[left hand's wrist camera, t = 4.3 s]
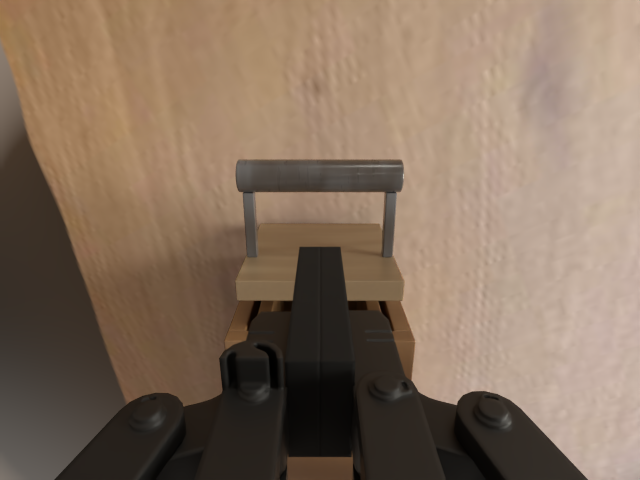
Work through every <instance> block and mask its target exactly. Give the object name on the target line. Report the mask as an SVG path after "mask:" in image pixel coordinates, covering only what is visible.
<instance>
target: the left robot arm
mask: <svg viewBox="0 0 640 480" xmlns="http://www.w3.org/2000/svg"><path fill="white" fill-rule="evenodd" d="M219 360H220V369H221V379H222V388H223V391H222V394H220V395H219V396H217V397H215V398H213V399H211V400H208V401H205V402H201V403H197V404H193V405H189V406H185V407H183V403H182V402H181V401H180V400H179V399H178V397H176V396H174V395H171V394H169V393H153V394H149V395H145V396H142V397H140V398H137V399H135V400H133V401H131V402H130V403H128V404H127V405H126V406H125V407H123V408H122V409H121V410H120V411H119V412H118V413H117V414H116V415H115V416H114V417H113V418H112V419H111V420H110V421H109V422H108V424H107V425H106V426H105V427H104V428H103V429H102V430H101V431H100V432H99V433H98V434H97V435H96V436H95V437H94V438H93V439H92V440H91V442H90V443H89V444H88V445H87V446H86V447H85V448H84V449H83V450H82V451H81V452H80V453H79V454H78V455H77V456H76V457H75V459H74V460H73V461H72V462H71V463H70V464H69V465H68V466H67V467H66V468H65V469H64V470H63V471H62V472H61V473H60V474H59V476H58V477H57V478H56V479H55V480H288V472H287V458H288V457H352V456H353V472H352V480H588V479H587V478H586V477H585V476H584V475H583V474H582V473H581V472H580V471H579V470H578V469H577V468H576V467H575V466H574V464H573V463H572V462H571V461H570V460H569V459H568V458H567V457H566V456H565V455H564V454H563V453H562V452H561V451H560V450H559V449H558V448H557V447H556V446H555V444H554V443H553V442H552V441H551V440H550V439H549V438H548V437H547V436H546V435H545V434H544V433H543V432H542V431H541V430H540V429H539V428H538V427H537V426H536V424H535V423H534V422H533V421H532V420H531V419H530V418H529V417H528V416H527V415H526V414H525V413H524V412H523V411H522V410H521V409H520V408H519V407H518V406H517V405H515V404H514V403H513V402H512V401H510V400H508V399H506V398H504V397H502V396H500V395H498V394H494V393H490V392H485V391H475V392H470V393H468V394H465V395H463V396H462V397H461V398H460V400H459V401H458V403H457V405H454V404H449V403H445V402H441V401H437V400H434V399H431V398H428V397H426V396H425V395H423V394H421V393H419V392H418V390H417V388H416V387H415V385H414V383H413V382H412V381H411V380H410V379H408V378H407V377H406V376H405V373H404V370H403V367H402V363H401V360H400V356H399V353H398V350H397V346H396V343H395V340H394V336H393V333H392V329H391V326H390V323H389V320H388V319H387V318H386V317H385V316H384V315H383V314H382V313H381V312H380V311H379V310H349V309H348V301H347V293H346V285H345V278H344V270H343V262H342V255H341V247H299V255H298V262H297V270H296V278H295V285H294V293H293V301H292V309H291V312H260V313H259V314H258V315H257V316H256V317H255V318H254V319H253V320H252V321H251V324H250V328H249V331H248V334H247V338H246V341H242V342H240V343H237V344H234V345H232V346H231V347H229V348H228V349H226V350H225V351H224V352H223V354H222V355H221V357H220V358H219Z"/></svg>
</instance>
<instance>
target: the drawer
mask: <svg viewBox="0 0 640 480" xmlns="http://www.w3.org/2000/svg"><path fill="white" fill-rule="evenodd" d="M403 181H404V166H403V162H402V160H238V161H237V164H236V184H237V188H238V191H239V192H243V204H244V218H245V232H246V247H247V255H246V258H245V260H244V262H243V264H242V267H241V269H240V271H239V273H238V276H237V278H236V280H235V287H236V299H237V301H261V305H260V308H259V312H258V314H259V313H260V312H291V309H292V301H293V293H294V285H295V278H296V270H297V262H298V255H299V247H341V255H342V262H343V270H344V278H345V285H346V293H347V301H348V309H349V310H379V311H380V312H381V310H380V306H379V302H378V301H403V294H404V282H405V281H404V279H403V277H402V274H401V272H400V270H399V268H398V265H397V263H396V261H395V258H394V256H393V241H394V227H395V213H396V198H397V193H396V192H401V190H402V187H403ZM255 192H385V198H384V215H383V231H382V229H381V226H380V224H260V226H259V228H258V231H257V219H256V202H255Z"/></svg>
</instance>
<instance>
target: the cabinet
mask: <svg viewBox="0 0 640 480" xmlns="http://www.w3.org/2000/svg"><path fill="white" fill-rule="evenodd" d="M378 302H379V306H380V310H381V313H382V314H383V315H384V316H385V317H386V318H387V319H388V320H389V323H390V326H391V329H392V333H393V336H394V340H395V343H396V346H397V350H398V353H399V356H400V360H401V363H402V367H403V370H404V373H405V376H406V377H407V378H408V379H410V380H412V370H413V360H414V350H415V339H414V337H413V334H412V332H411V328H410V326H409V323H408V320H407V318H406V315H405V312H404V310H403V307H402V304H401V302H400V301H378ZM260 305H261V301H239V304H238V307H237V309H236V312H235V314H234V317H233V320H232V322H231V325H230V328H229V330H228V333H227V335H226V338H225V341H224V344H225V350H226V349H228V348H229V347H231V346H232V345H234V344H237V343H240V342H242V341H246V338H247V334H248V331H249V328H250V324H251V321H252V320H253V319H254V318H255V317H256V316H257V315H258V312H259V308H260ZM287 472H288V480H352V472H353V456H352V457H288V458H287Z"/></svg>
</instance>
